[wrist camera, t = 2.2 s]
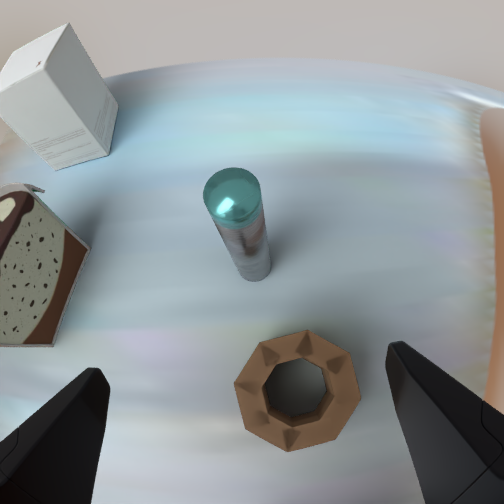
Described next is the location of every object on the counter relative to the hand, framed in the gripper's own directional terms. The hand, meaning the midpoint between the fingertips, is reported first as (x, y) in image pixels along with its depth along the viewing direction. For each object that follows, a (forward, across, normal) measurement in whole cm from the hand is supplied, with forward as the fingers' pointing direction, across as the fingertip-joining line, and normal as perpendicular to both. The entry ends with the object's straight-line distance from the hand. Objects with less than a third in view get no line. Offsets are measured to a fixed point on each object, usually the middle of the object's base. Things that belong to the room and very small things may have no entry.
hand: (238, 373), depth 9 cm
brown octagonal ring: (+8, -2, +11) cm, 14 cm away
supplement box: (+26, +17, -7) cm, 32 cm away
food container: (+15, +19, +4) cm, 24 cm away
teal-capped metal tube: (+14, 0, +4) cm, 15 cm away
